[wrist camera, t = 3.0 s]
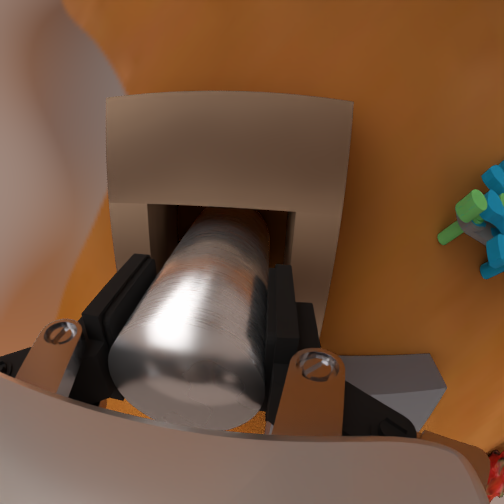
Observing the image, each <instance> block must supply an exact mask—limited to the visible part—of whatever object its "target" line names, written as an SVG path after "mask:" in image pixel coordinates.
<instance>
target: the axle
mask: <svg viewBox="0 0 504 504" xmlns="http://www.w3.org/2000/svg"><path fill="white" fill-rule="evenodd" d="M269 241H270V236H269V230H268V227H267V224H266V222H265V220H264V219H263V217H262V216H261V215H260V214H259V213H258V212H257V211H256V210H255V209H249V208H232V207H214V206H208V207H207V208H205V209H204V210H203V211H202V212H201V213H200V214H199V216H198V217H197V219H196V220H195V221H194V223H193V224H192V226H191V227H190V228H189V230H188V231H187V233H186V234H185V235H184V237H183V238H182V240H181V241H180V243H179V244H178V245H177V247H176V248H175V250H174V251H173V253H172V254H171V256H170V257H169V258H168V260H167V261H166V263H165V264H164V266H163V267H162V269H161V270H160V272H159V273H158V275H157V276H156V278H155V279H154V281H153V282H152V284H151V285H150V287H149V288H148V290H147V291H146V293H145V294H144V296H143V297H142V299H141V300H140V302H139V304H138V305H137V307H136V308H135V310H134V311H133V313H132V314H131V316H130V318H129V319H128V321H127V322H126V324H125V326H124V327H123V329H122V330H121V332H120V334H119V335H118V337H117V338H116V340H115V342H114V343H113V345H112V347H111V349H110V352H109V356H108V367H109V372H110V375H111V378H112V380H113V382H114V384H115V386H116V387H117V389H118V390H119V392H120V393H121V394H122V395H123V396H124V398H125V399H126V400H127V401H128V402H129V403H131V404H132V405H133V406H134V407H135V408H137V409H138V410H139V411H141V412H142V413H144V414H145V415H147V416H149V417H150V418H152V419H154V420H156V421H162V422H167V423H173V424H179V425H185V426H191V427H198V428H205V429H212V430H221V431H224V430H228V429H232V428H235V427H238V426H240V425H242V424H244V423H246V422H247V421H249V420H250V419H252V418H253V417H254V416H255V415H256V414H257V412H258V411H259V410H260V408H261V406H262V404H263V401H264V396H265V371H264V357H265V334H266V308H267V286H268V274H269Z"/></svg>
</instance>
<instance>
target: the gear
mask: <svg viewBox="0 0 504 504" xmlns="http://www.w3.org/2000/svg"><path fill="white" fill-rule="evenodd" d="M481 177H482V180H483V182H484V183H485V185H486V186H487V187H488V188H489V189H490V190H489V191H488V192H487V193H486V194H484V195H483V194H482V193H481V192H480V191H479V190H477V189H474V190H472V191H471V192H470V193H469V194H468V195H467V196H465V197H464V198H463V199H462V200H461V201H459V202H458V203H457V204H456V206H455V210H456V217H457V221H455V222H454V223H453V224H451V225H450V226H449V227H447V228H446V229H444V230H443V231H442V232H440V233H439V234H438V241H439V242H440V244H442V245H446V244H447V243H449V242H450V241H452V240H453V239H455V238H456V237H458V236H459V235H460V234H462V233H463V232H465V233H466V234H467V235H469V236H471V237H472V238H474V239H475V240H477V241H479V242H480V243H482V244H484V245H485V246H486V250H487V257H488V262H486V263H484V264H482V265H481V267H480V272H481V275H482V277H483V278H484V279H489V278H491V277H493V276H495V275H497V274H499V273H502V272H504V160H503V161H502V162H501V163H500V164H499V165H494V166H492V167H491V168H489V169H488V170H487V171H486V172H485V173H484V174H483V175H482V176H481Z"/></svg>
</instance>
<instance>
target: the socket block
mask: <svg viewBox="0 0 504 504" xmlns="http://www.w3.org/2000/svg"><path fill="white" fill-rule="evenodd" d="M338 357H340V358H341V360H342V361H343V363H344V366H345V380H346V381H347V382H349V383H351V384H352V385H354V386H355V387H357V388H359V389H360V390H362V391H363V392H365V393H367V394H368V395H370V396H372V397H373V398H375V399H377V400H378V401H380V402H382V403H383V404H385V405H387V406H388V407H390V408H392V409H393V410H395V411H397V412H399V413H400V414H402V415H404V416H405V417H406V418H408V419H409V420H410V421H411V422H412V424H413V425H414V426H415V429H416V431H417V432H419V431H420V429H421V428H422V426H423V425H424V423H425V422H426V420H427V419H428V418H429V416H430V415H431V413H432V411H433V410H434V408H435V407H436V405H437V404H438V402H439V401H440V399H441V397H442V396H443V394H444V392H445V391H446V389H447V386H446V384H445V382H444V380H443V378H442V376H441V374H440V372H439V370H438V368H437V367H436V365H435V363H434V361H433V359H432V357H431V355H430V353H429V354H410V355H380V356H338ZM272 430H273V425H272V424H271V423H270V422H269V421H266V428H265V434H267V435H271V434H272Z"/></svg>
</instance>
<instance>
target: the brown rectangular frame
mask: <svg viewBox="0 0 504 504" xmlns="http://www.w3.org/2000/svg"><path fill="white" fill-rule="evenodd" d="M353 105H354V102H352V101H345V100H338V99H331V98H323V97H315V96H305V95H295V94H283V93H269V92H248V91H182V92H162V93H148V94H136V95H126V96H118V97H109V98H106V160H107V180H108V196H109V208H110V219H111V229H112V238H113V246H114V254H115V261H116V268H117V272H118V271H119V269H120V268H121V267H122V266H123V265H124V264H125V263H126V262H127V261H128V260H129V258H130V257H131V256H132V255H133V254H134V253H136V254H148V255H150V257H151V259H154V260H155V263H156V273H157V275H158V273H159V272H160V270H161V269H162V267H163V266H164V264H165V263H166V261H167V260H168V258H169V257H170V256H171V254H172V253H173V251H174V250H175V248H176V247H177V245H178V234H177V205H193V206H214V207H232V208H249V209H264V210H278V211H288V218H287V229H286V239H285V249H284V259H283V264H284V265H291V266H292V274H293V283H294V292H295V301H296V302H306V303H312V304H313V308H314V313H315V318H316V324H317V329H318V335H319V338H320V333H321V328H322V324H323V319H324V314H325V309H326V304H327V299H328V294H329V289H330V283H331V278H332V272H333V267H334V261H335V255H336V249H337V243H338V237H339V230H340V223H341V217H342V209H343V202H344V195H345V187H346V179H347V170H348V161H349V151H350V141H351V130H352V118H353Z"/></svg>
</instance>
